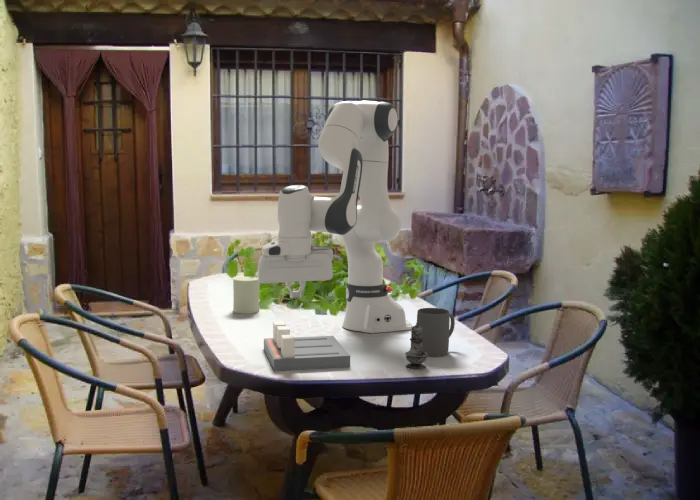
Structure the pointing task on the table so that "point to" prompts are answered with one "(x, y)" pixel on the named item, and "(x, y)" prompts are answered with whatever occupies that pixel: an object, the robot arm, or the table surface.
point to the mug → (435, 330)
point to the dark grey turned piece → (416, 349)
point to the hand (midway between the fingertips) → (295, 297)
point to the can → (246, 295)
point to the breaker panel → (305, 352)
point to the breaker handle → (281, 333)
